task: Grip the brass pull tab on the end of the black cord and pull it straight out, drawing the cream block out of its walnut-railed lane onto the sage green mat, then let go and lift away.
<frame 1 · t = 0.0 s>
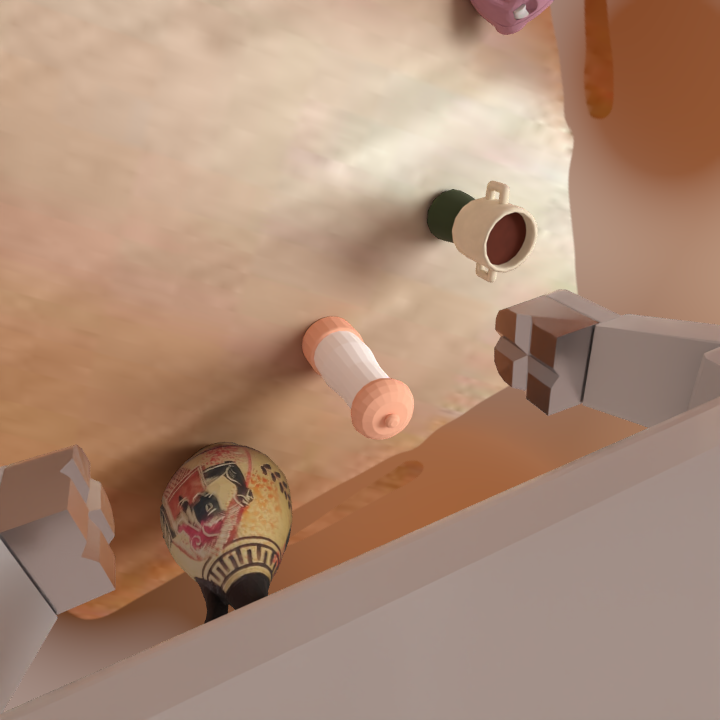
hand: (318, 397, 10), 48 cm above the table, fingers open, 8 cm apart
ceramic jug: (211, 470, 69), on the table
pepper shaker: (327, 341, 67), on the table
character mug: (445, 213, 65), on the table
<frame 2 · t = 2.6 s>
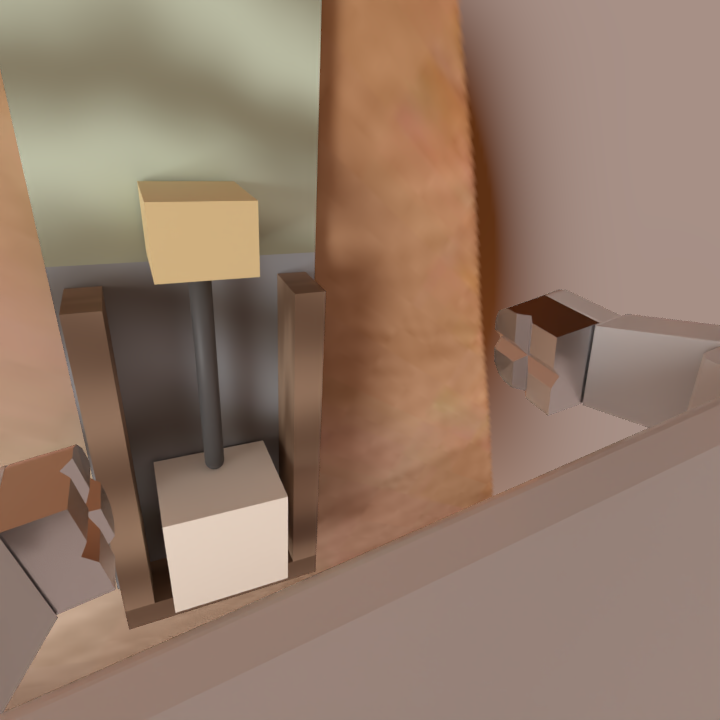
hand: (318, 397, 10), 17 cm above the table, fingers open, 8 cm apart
shelf lane: (196, 312, 26), on the table
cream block: (213, 410, 25), point 3 cm above the table, slide at 0.0 cm
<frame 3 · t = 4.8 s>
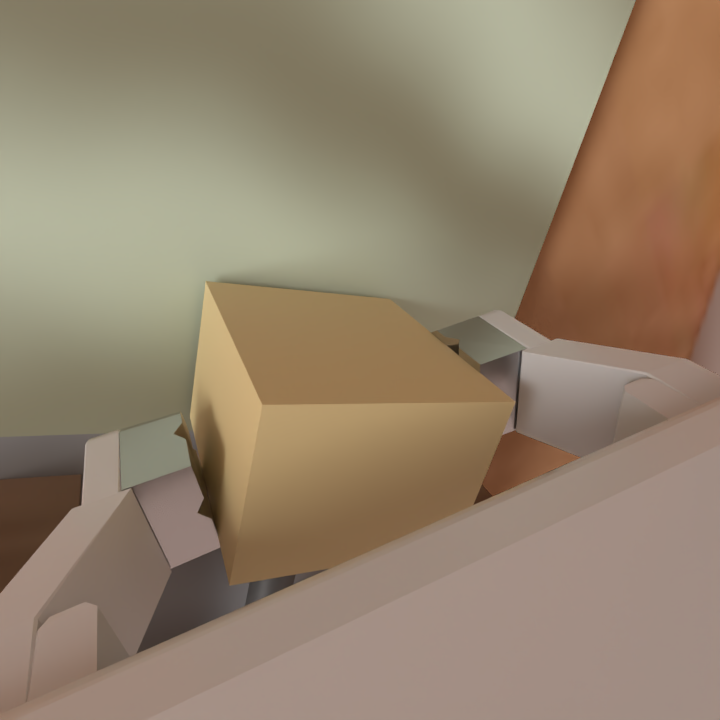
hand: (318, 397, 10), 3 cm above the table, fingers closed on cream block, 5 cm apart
shelf lane: (249, 503, 14), on the table
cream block: (258, 719, 13), point 4 cm above the table, slide at 0.0 cm, touching gripper
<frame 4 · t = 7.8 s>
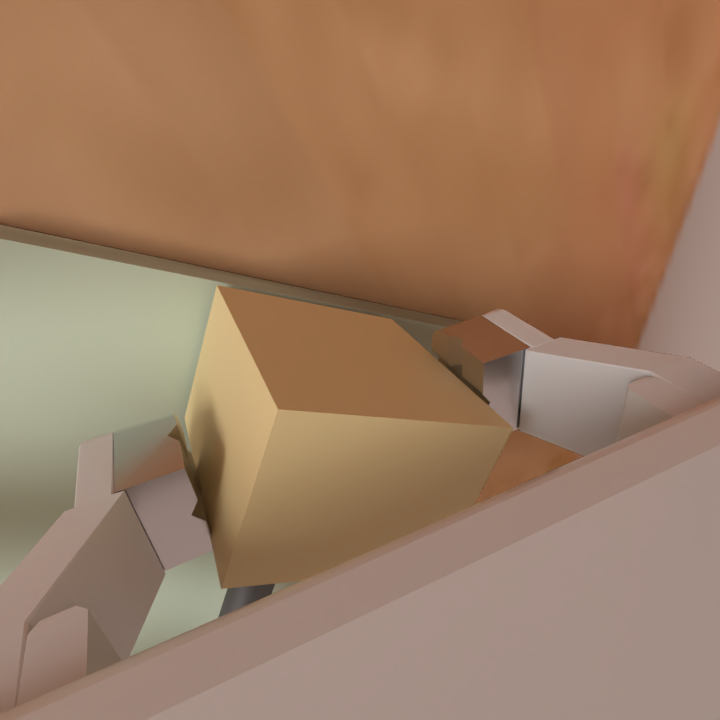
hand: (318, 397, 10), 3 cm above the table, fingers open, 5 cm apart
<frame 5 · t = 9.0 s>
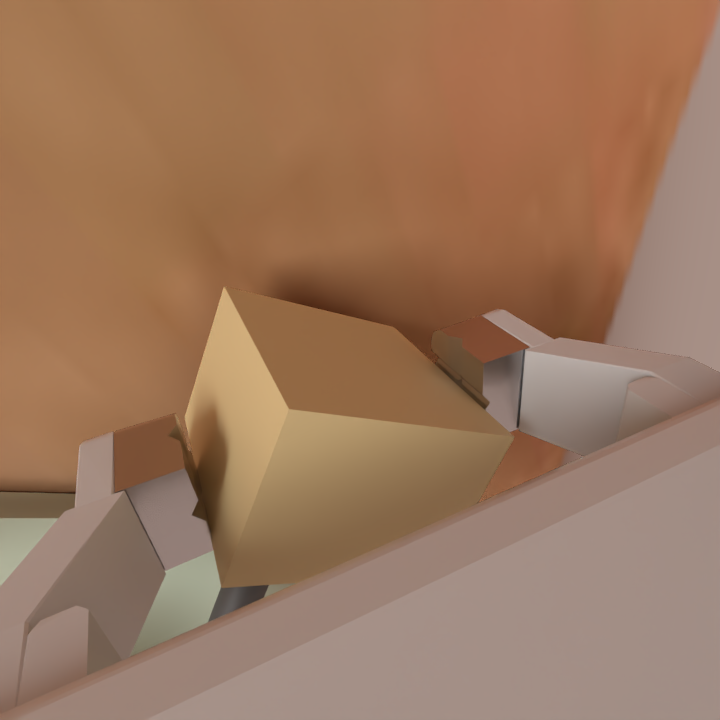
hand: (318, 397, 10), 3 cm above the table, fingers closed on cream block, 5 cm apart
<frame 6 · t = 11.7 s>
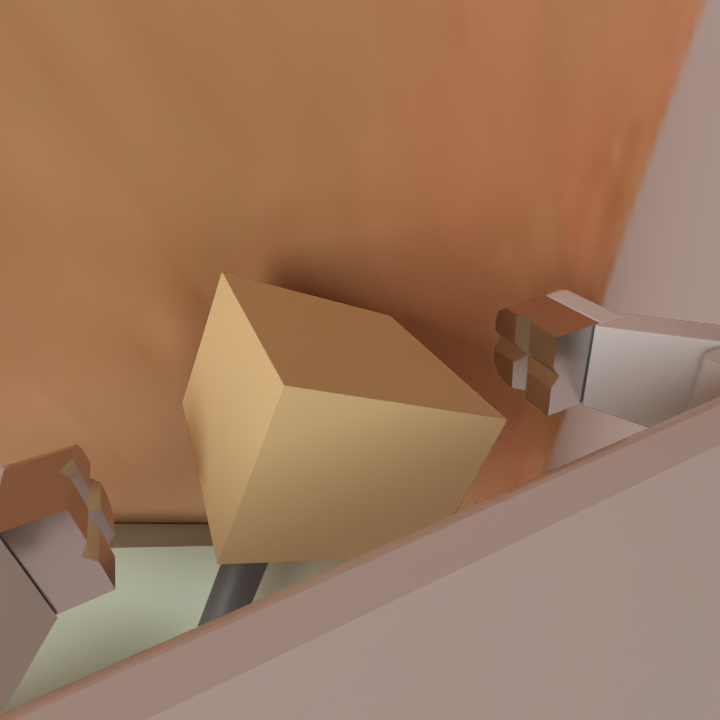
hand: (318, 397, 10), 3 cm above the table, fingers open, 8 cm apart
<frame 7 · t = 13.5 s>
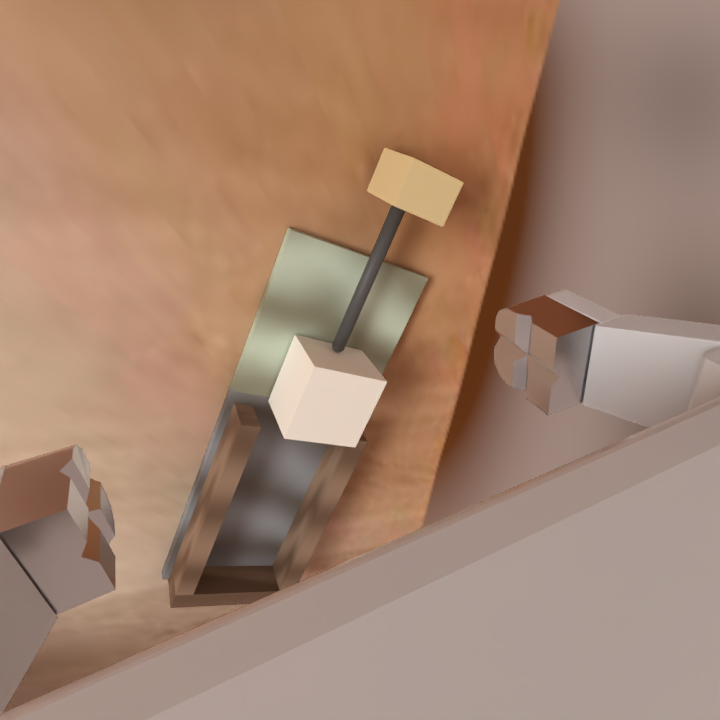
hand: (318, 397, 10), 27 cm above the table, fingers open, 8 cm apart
shelf lane: (287, 426, 44), on the table
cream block: (363, 306, 36), point 4 cm above the table, slide at 16.8 cm
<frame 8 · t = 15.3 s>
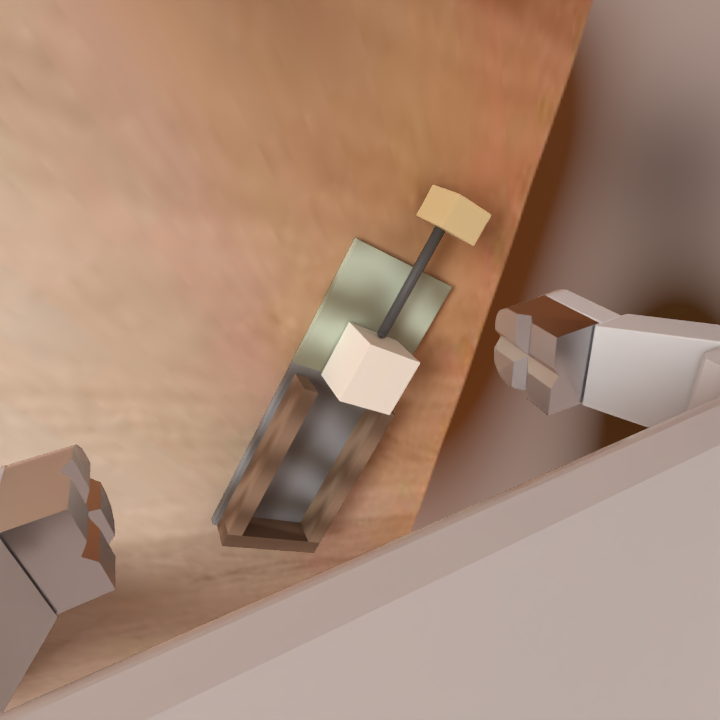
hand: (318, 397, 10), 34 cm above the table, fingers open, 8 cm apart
shelf lane: (329, 399, 53), on the table
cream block: (406, 302, 47), point 4 cm above the table, slide at 16.8 cm
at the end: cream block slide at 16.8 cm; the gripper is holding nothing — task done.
